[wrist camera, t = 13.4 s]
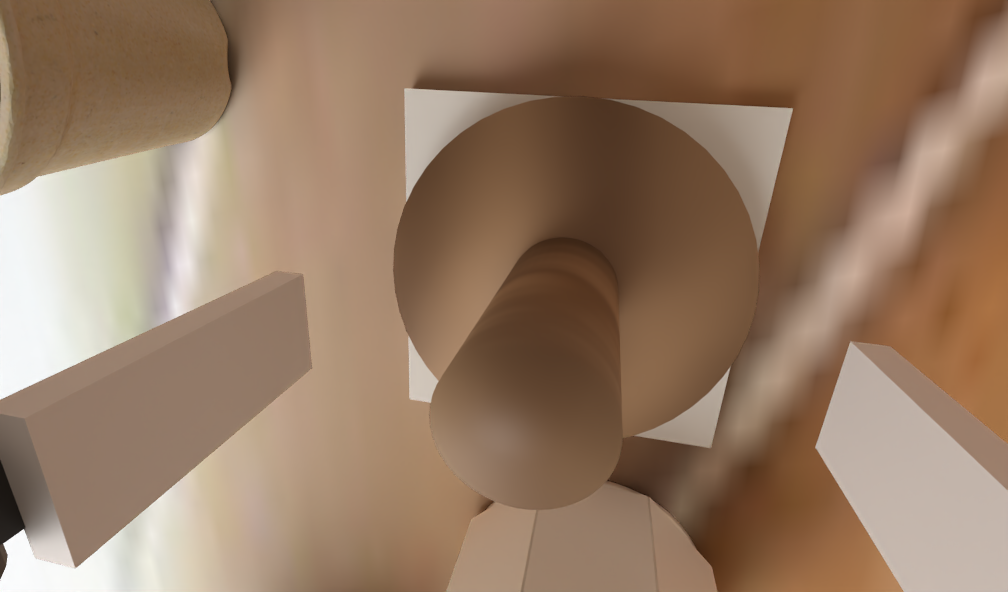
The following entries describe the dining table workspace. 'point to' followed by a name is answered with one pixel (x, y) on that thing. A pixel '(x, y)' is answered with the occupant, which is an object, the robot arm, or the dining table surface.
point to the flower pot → (104, 80)
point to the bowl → (581, 549)
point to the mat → (718, 128)
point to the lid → (569, 290)
